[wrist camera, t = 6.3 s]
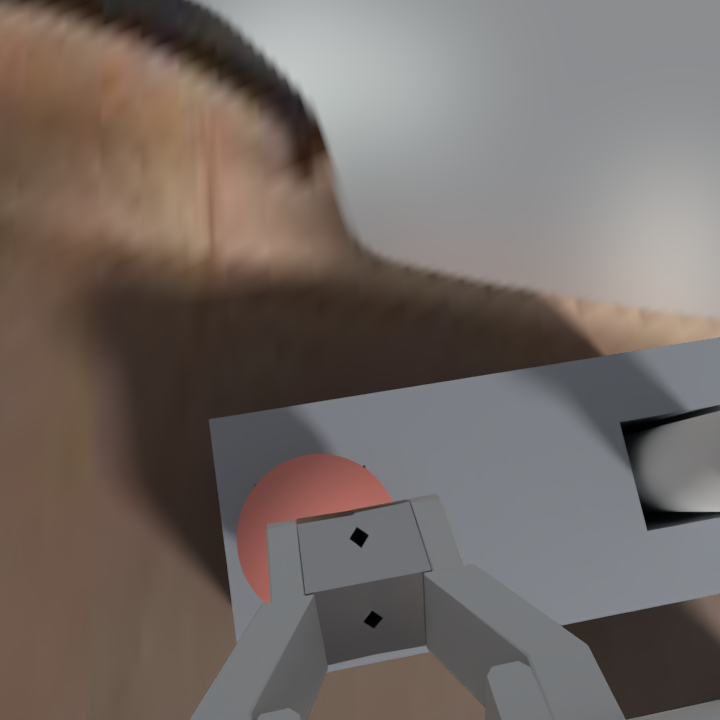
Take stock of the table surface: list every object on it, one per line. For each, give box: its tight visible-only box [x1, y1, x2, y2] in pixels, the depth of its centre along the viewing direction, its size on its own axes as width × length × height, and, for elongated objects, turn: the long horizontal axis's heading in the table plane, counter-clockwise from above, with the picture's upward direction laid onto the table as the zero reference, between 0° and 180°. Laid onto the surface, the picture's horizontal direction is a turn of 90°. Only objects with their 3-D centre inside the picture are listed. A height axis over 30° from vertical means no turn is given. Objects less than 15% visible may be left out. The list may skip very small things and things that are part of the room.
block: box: [209, 337, 720, 672], centre depth 31 cm, size 22×10×10 cm, turn 100°
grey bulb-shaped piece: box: [623, 411, 720, 512], centre depth 25 cm, size 5×5×14 cm
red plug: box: [237, 454, 393, 603], centre depth 28 cm, size 5×5×14 cm
